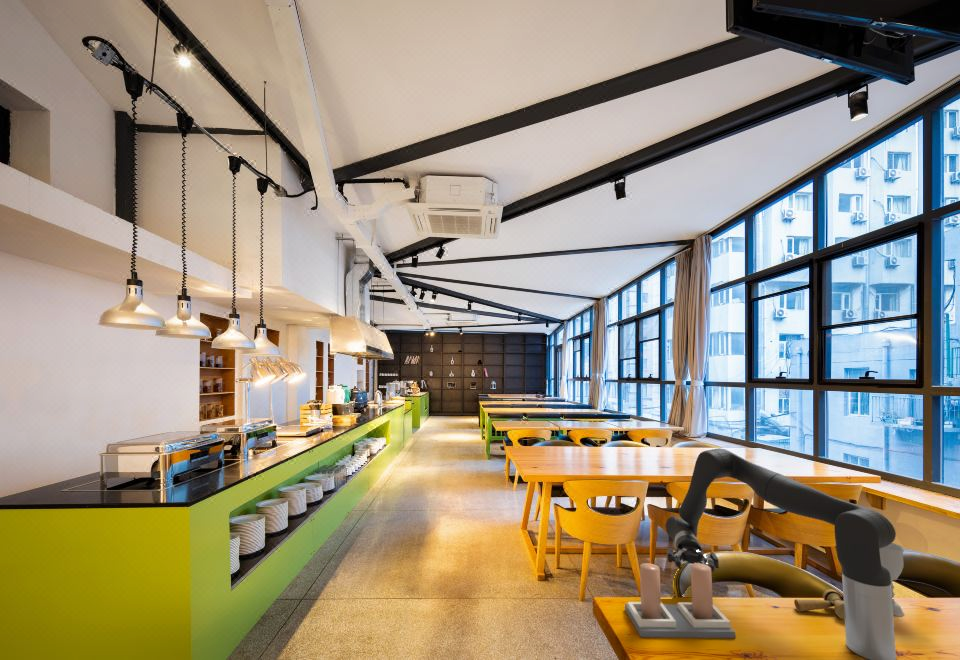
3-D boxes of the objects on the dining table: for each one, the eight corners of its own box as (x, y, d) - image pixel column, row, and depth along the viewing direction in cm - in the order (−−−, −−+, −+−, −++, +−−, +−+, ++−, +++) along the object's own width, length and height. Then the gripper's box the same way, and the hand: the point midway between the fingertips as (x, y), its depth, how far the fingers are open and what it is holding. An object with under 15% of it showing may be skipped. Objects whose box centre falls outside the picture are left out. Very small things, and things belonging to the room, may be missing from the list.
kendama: (808, 624, 124) (879, 620, 122) (801, 599, 125) (871, 594, 123) (793, 615, 131) (860, 610, 129) (787, 590, 133) (853, 586, 131)
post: (700, 610, 125) (698, 561, 126) (717, 619, 121) (715, 569, 122) (688, 615, 123) (686, 565, 124) (705, 624, 118) (702, 573, 119)
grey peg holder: (709, 610, 128) (707, 557, 129) (735, 637, 115) (733, 578, 116) (625, 609, 128) (623, 556, 129) (641, 637, 115) (639, 578, 116)
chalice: (883, 615, 126) (878, 548, 127) (870, 603, 132) (866, 539, 134) (915, 619, 124) (910, 551, 125) (900, 607, 130) (896, 542, 132)
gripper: (664, 532, 151) (669, 551, 135) (711, 537, 147) (721, 557, 131) (664, 555, 150) (669, 577, 135) (712, 561, 146) (722, 584, 131)
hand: (695, 567), depth 133 cm, fingers open, 8 cm apart
